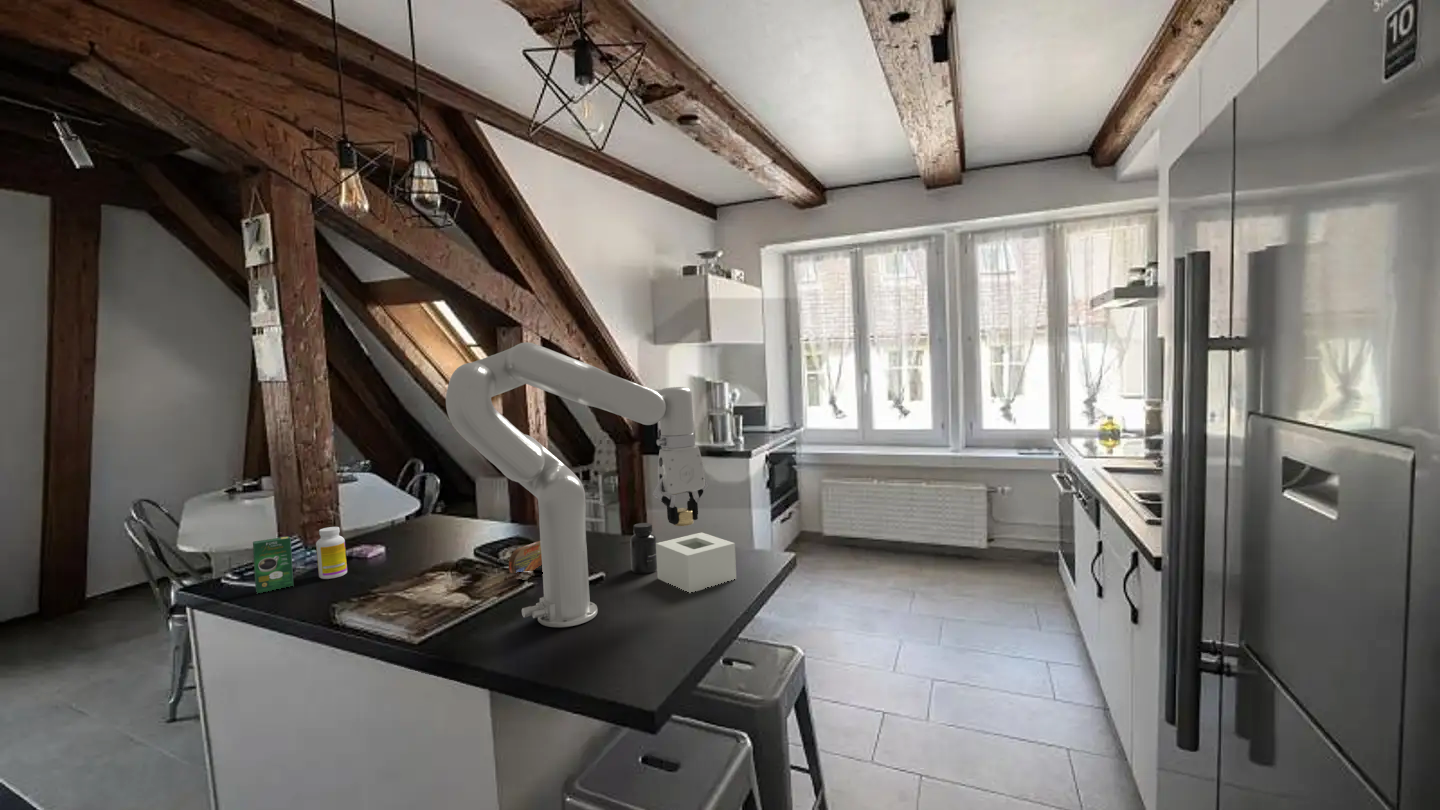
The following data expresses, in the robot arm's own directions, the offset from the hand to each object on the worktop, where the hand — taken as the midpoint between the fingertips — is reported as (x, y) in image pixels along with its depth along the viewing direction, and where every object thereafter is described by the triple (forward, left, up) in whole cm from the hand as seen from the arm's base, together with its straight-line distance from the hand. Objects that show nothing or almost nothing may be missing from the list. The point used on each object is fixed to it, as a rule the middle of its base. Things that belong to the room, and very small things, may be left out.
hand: (683, 520), depth 147 cm
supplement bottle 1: (-62, +79, -18) cm, 102 cm away
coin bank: (+8, +8, -18) cm, 21 cm away
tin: (-21, +40, -18) cm, 48 cm away
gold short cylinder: (0, 0, -1) cm, 1 cm away
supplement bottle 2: (+2, +23, -18) cm, 29 cm away
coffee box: (-75, +77, -18) cm, 109 cm away
